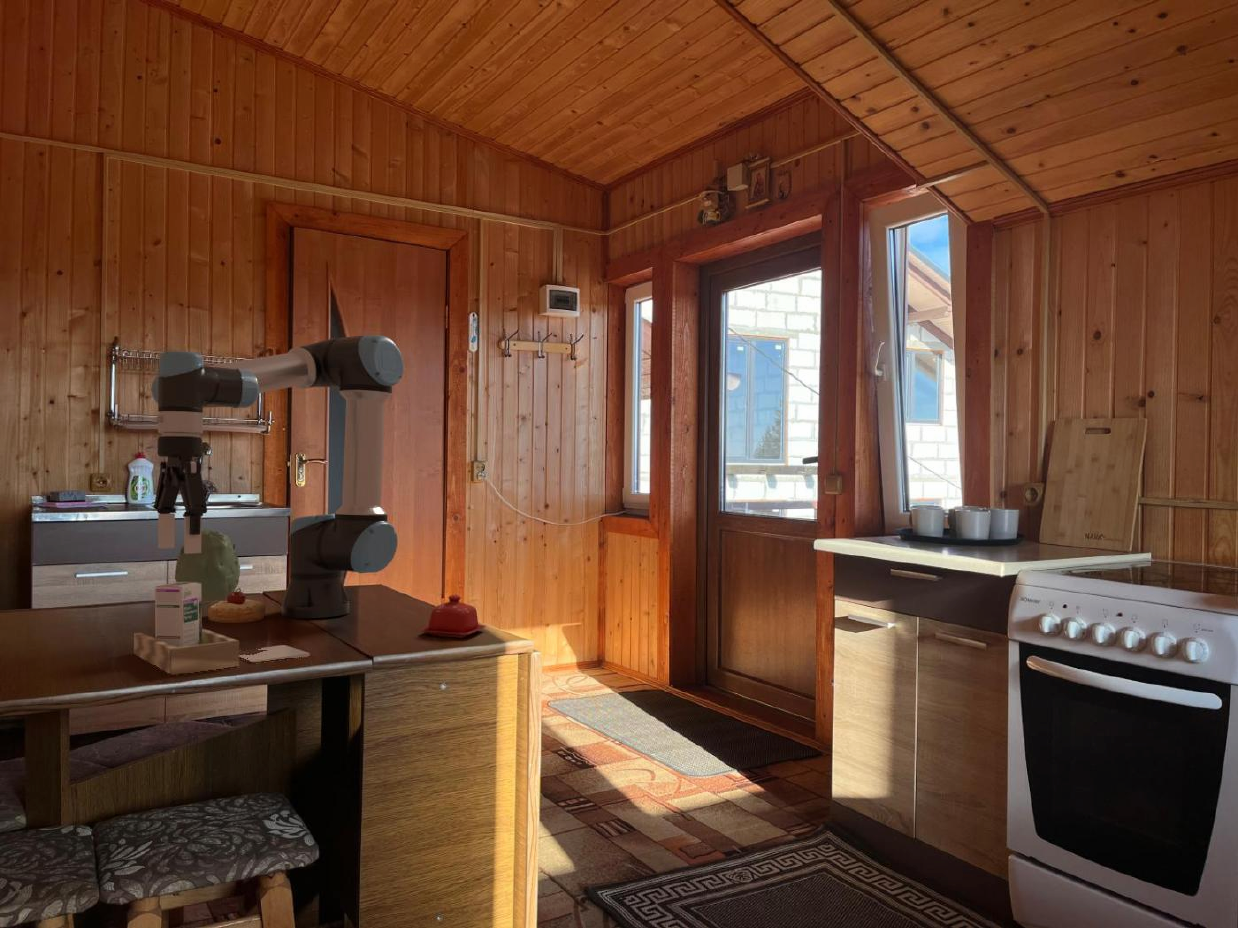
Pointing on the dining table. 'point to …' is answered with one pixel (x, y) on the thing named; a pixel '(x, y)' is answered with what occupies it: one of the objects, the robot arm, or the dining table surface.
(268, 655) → the coaster
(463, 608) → the butter dish
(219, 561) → the green lumpy fruit
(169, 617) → the syrup box
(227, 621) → the pastry
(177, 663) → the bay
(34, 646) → the dining table surface
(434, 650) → the dining table surface
